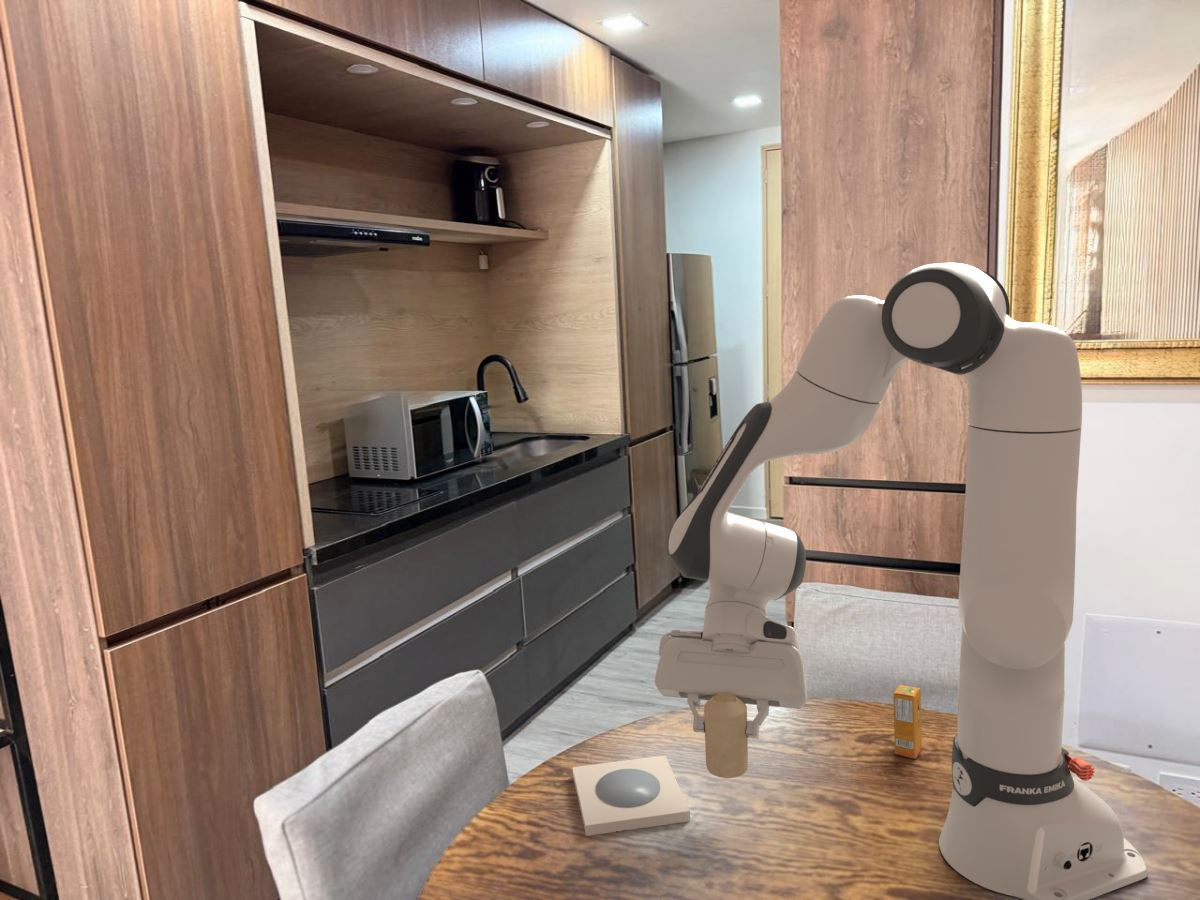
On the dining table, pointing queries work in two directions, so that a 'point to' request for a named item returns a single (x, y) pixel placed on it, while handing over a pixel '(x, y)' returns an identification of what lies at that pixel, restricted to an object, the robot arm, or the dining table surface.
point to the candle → (726, 735)
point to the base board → (629, 795)
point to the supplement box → (907, 721)
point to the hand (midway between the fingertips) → (725, 734)
